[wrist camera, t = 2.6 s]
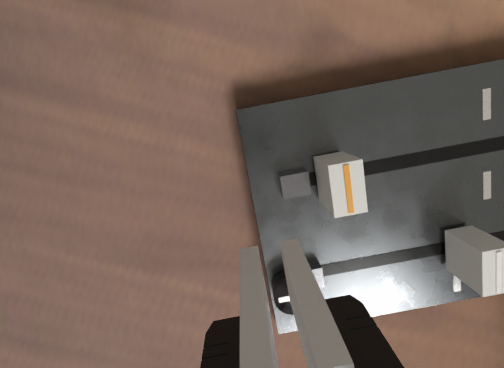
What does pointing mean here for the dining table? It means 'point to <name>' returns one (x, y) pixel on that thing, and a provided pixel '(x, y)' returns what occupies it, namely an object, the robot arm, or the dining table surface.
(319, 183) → the block
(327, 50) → the dining table surface
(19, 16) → the dining table surface
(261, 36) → the dining table surface
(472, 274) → the fader
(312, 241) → the console board
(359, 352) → the robot arm
